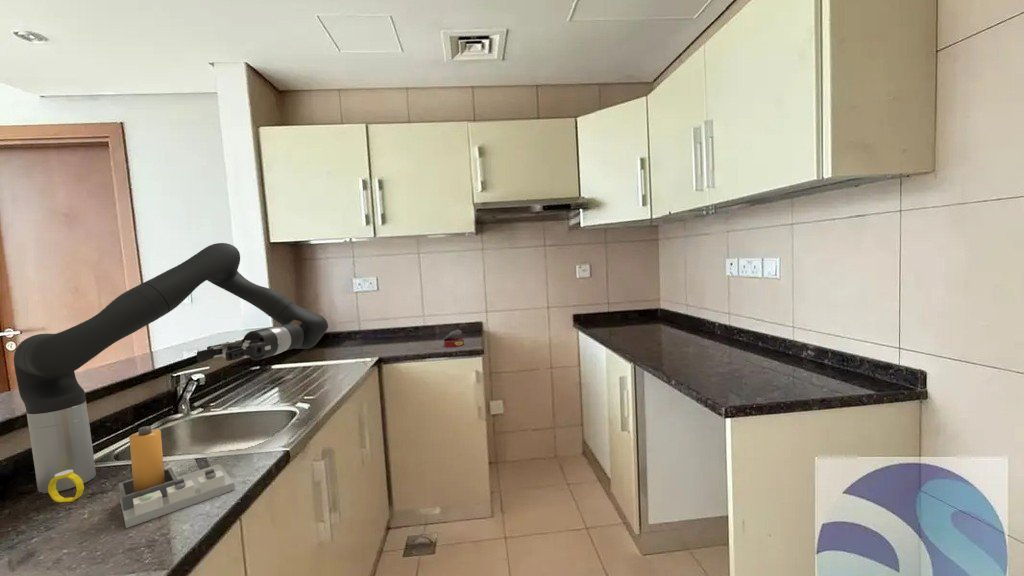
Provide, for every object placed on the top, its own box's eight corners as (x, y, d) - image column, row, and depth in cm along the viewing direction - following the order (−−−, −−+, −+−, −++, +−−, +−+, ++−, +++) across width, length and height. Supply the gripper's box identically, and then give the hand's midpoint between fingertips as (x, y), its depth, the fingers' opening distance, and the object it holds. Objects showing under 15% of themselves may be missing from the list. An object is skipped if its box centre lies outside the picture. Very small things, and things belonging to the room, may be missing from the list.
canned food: (448, 356, 225) (437, 340, 224) (450, 350, 235) (439, 334, 233) (468, 345, 225) (457, 328, 223) (468, 339, 235) (458, 323, 233)
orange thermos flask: (132, 493, 90) (127, 428, 89) (162, 484, 93) (157, 421, 93) (136, 502, 87) (130, 434, 86) (167, 492, 90) (162, 427, 89)
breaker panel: (120, 502, 90) (117, 480, 90) (219, 470, 102) (217, 450, 102) (126, 528, 81) (122, 503, 81) (234, 489, 93) (232, 468, 92)
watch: (47, 506, 91) (41, 478, 91) (60, 499, 94) (54, 471, 93) (77, 502, 91) (71, 474, 91) (89, 495, 94) (83, 467, 94)
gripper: (244, 328, 122) (186, 340, 106) (288, 327, 118) (235, 340, 102) (247, 356, 122) (190, 372, 107) (291, 356, 118) (238, 372, 103)
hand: (212, 356), depth 105 cm, fingers open, 8 cm apart
